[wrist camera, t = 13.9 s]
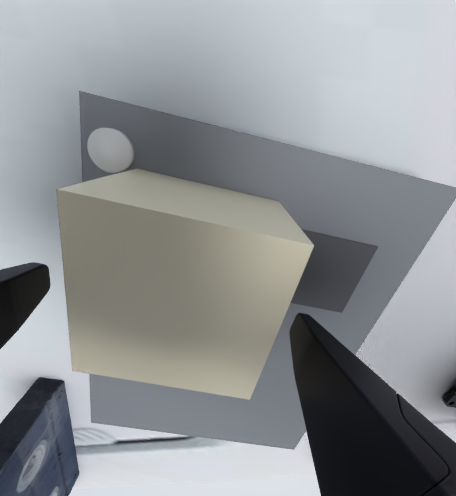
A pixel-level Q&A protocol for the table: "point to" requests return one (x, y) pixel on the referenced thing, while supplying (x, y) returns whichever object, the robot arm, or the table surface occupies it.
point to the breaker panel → (314, 275)
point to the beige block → (176, 280)
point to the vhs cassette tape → (38, 444)
